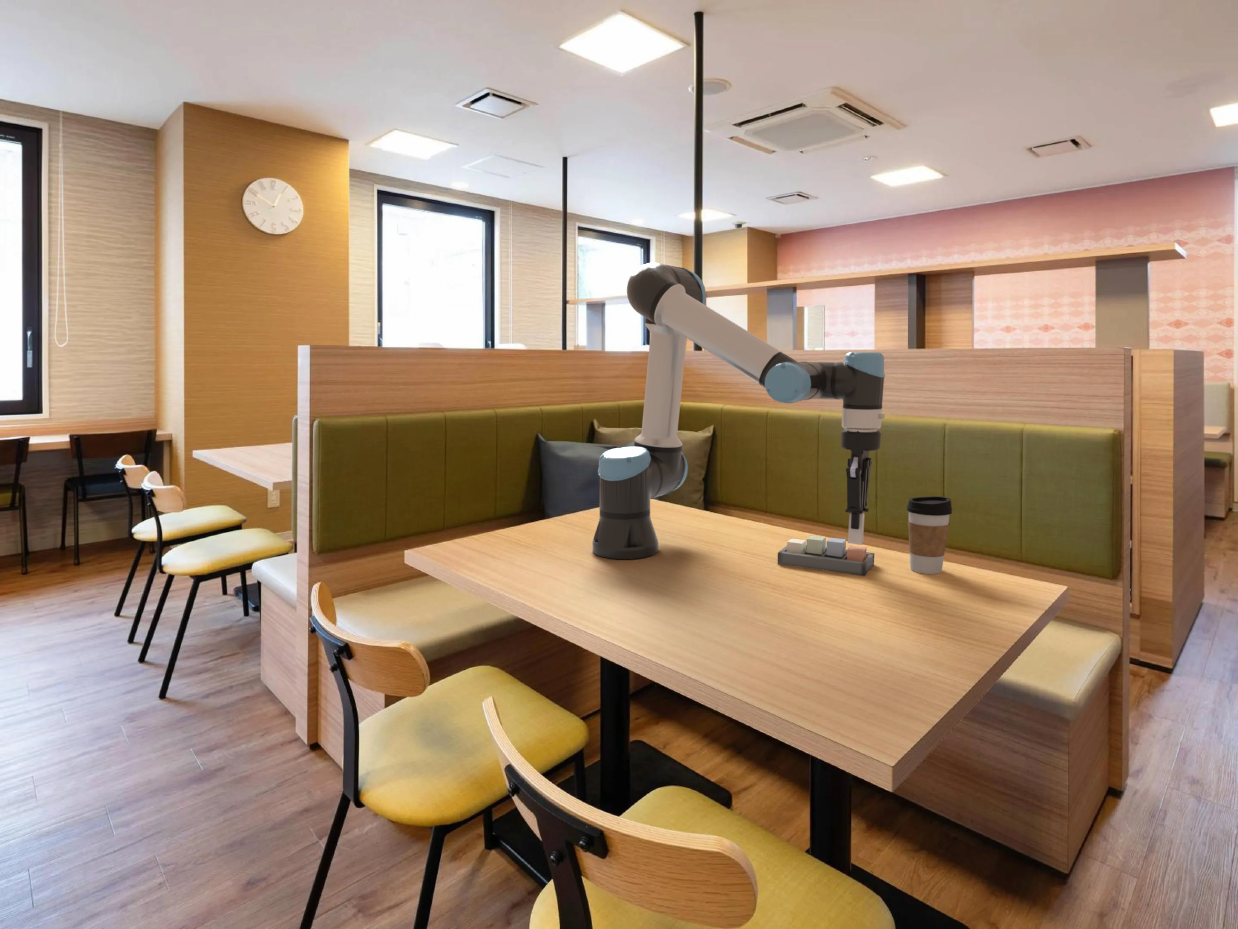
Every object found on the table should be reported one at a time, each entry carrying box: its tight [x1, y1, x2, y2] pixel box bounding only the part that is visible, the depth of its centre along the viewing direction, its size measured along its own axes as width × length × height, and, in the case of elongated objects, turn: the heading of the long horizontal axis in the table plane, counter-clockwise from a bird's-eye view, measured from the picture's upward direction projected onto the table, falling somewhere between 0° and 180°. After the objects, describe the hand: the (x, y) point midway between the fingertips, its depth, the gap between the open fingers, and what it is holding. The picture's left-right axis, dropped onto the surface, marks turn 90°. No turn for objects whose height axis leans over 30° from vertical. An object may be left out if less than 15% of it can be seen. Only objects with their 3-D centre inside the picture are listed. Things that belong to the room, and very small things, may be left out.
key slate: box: [826, 537, 847, 557], centre depth 146 cm, size 3×3×3 cm
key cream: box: [786, 538, 807, 554], centre depth 150 cm, size 3×3×3 cm
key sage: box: [806, 535, 827, 554], centre depth 148 cm, size 3×3×3 cm
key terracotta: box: [846, 545, 868, 562], centre depth 144 cm, size 3×3×3 cm
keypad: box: [777, 544, 875, 577], centre depth 147 cm, size 18×9×2 cm, turn 60°
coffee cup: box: [906, 495, 953, 575], centre depth 141 cm, size 8×8×15 cm
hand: (855, 543), depth 143 cm, fingers closed
